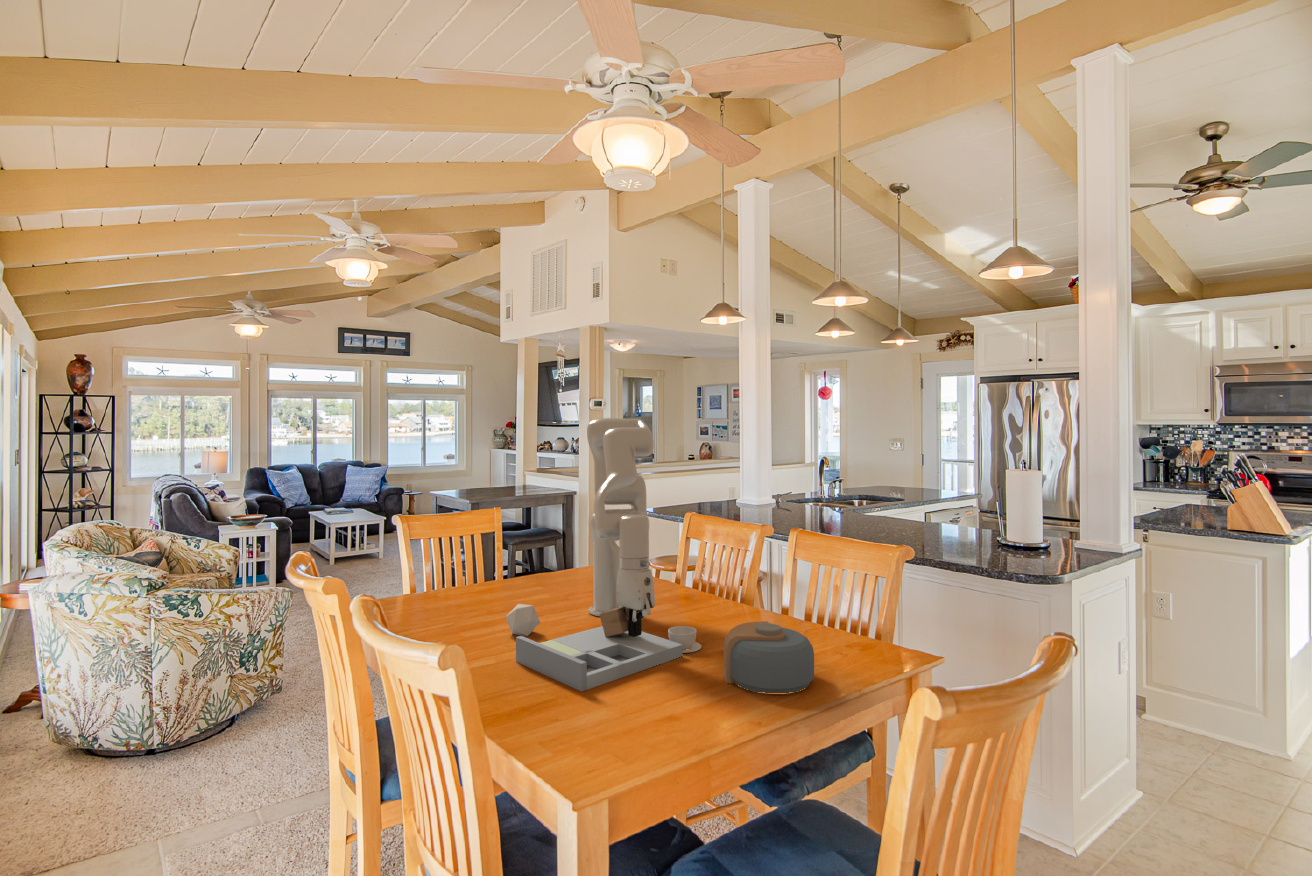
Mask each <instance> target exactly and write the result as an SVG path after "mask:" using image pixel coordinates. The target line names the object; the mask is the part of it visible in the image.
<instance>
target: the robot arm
mask: <svg viewBox="0 0 1312 876" xmlns="http://www.w3.org/2000/svg"><path fill="white" fill-rule="evenodd" d="M586 436H587V443H588V446H589V448H590V451H591V454H592V458H593V462H594V463H593V466H594V467H593V468H594V469H593V471H594V473H593V474H594V475H593V476H594V477H593V479H594V481H593V482H594V500H593V501H594V502H593V513H592V515H591V517H590V519H589V525H590V532H591V533H590V534H591V538H592V539H591V540H592V552H593V553H592V556H593V557H592V558H593V559H592V560H593V561H592V562H593V567H592V568H593V570H592V571H593V572H592V573H593V576H592V577H593V579H592V580H593V605H590V606H589V608H588V613H589V614H590V615H592V616H595V617H600V615H599V614H601V613H604V612H606V611H609V610H612V609H615V608H621V607H624V612H625V614H626V619H627V620H628V636H631V637H636V636H639V635H641V634H642V632H643V631H642V624H643V623H642V620H644V617H647V616H650V615H651V613H652V612H651V609H654V607H655V604H656V603H655V602H656V600H655V599H656V598H655V585H654V584H655V583H654V578H653V572H652V569H650V566H651V562H650V519H649V517H648V516H647V514H648V513H647V506H648V505H647V486H646V481H645V479H644V478H643V476H642V475H641V474H638V472H637V466H636V465H637V464H636V458H637V457H650V456H651V455H652V454H653V450H654V447H655V445H654V443H655V442H654V436H653V433H652V430H651V429H650V427H649V426H648V425H647V424H646V422H644V420H643V419H640V418H617V417H616V418H614V417H613V418H610V417H608V418H597V419H592V420H591V421H589V422H588V424H587V426H586ZM620 505H623V506H624V505H628V506H630V507H631V508H612V509H611V508H610V509H606V506H620ZM617 541H619V543H616V542H617ZM618 544H619V545H618Z"/></svg>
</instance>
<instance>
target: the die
mask: <svg viewBox="0 0 1312 876" xmlns="http://www.w3.org/2000/svg"><path fill="white" fill-rule="evenodd" d="M505 620H506V622H507V624H508V628H509V630H510V632H511V634H512V635H517V636H523V637H528V636H530V634H531V633H532V632H534V630H535V629H536V628H537V627H538V626H539V624H540V623H541V622H540V621H541V620H540V618H539V615H538V613H537V611H536V608H535V606H534V605H532V604H523V603H518V604H517V605H515V607H514V608H513V609H512V610H510V612H509V613H508V614H507V615H506V616H505Z"/></svg>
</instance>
